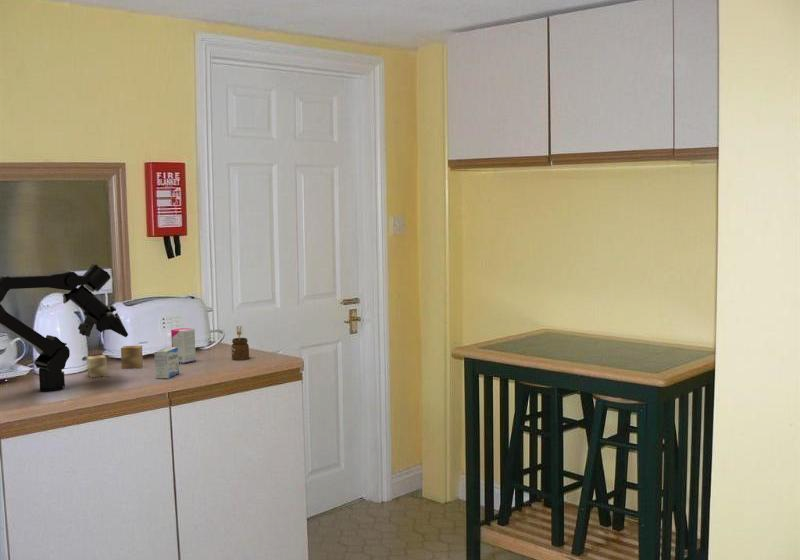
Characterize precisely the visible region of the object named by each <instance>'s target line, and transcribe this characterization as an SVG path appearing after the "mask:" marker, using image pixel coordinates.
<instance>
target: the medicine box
mask: <svg viewBox="0 0 800 560" xmlns="http://www.w3.org/2000/svg"><path fill="white" fill-rule="evenodd" d="M154 369H155V370H154V371H155V379H163V378H169V379H171V378H173V377H175V376H177V375H179V374H180V364H179V357H178V348H177V347H172V346H168V347H167V346H166V347H164V348H162V349H159V350H156V351H154ZM176 374H177V375H176ZM174 375H175V376H174ZM172 376H173V377H172ZM170 377H171V378H170Z"/></svg>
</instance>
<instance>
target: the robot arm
mask: <svg viewBox="0 0 800 560" xmlns="http://www.w3.org/2000/svg"><path fill="white" fill-rule="evenodd" d="M111 278H112V277H111V275H110V273H109V272H108V271H106V270H104V268H101V267H100V266H99V265H98V264H95V263H93V264H92V265H90V266H89V268H88V269H87V270H86V271H85V273H84V274H83V275H80V274H77V273H76V272H75V271H69V270H56V271H52V272H51V271H50V272H48V273H46V274H29V275H28V274H27V275H26V274H25V275H2V274H1V275H0V327H2V328H4V329H5V330H7V331H8V332H10V333H11V334H13V335H14V336H15V337H16V336H17V338H19V339H21V340H22V341H23V342H26V344H29V345H30V346H32V347H33V348H34V350H35V351H36V352H37V354H38V357H37V358H35V360H34V361H33V363H34V365H35V368H36V369H38V380H39V389H38V392H49V391H52V392H53V391H60V390H61V391H62V390H64V387H65V386H66V379H65V372H64V370H65V367H66V363H67V361H68V360H69V358H70V356H71V355H70V349H69V348H70V347H68V346H67V344H68V343H66V342H63V341H62V340H61V339H60V338H58V337H57V336H54V335H53V336H52V335H50V334H49V335H48V334H46V336H44V335H42V334H40V333H39V332H37V331H36V330H35V329H33V328H31V327H30V326H29V325H27V324H25V323H24V322H22V321H21V320H19V319H18V318H16V317H14V316H13V315H12V314H10V313H9V312H8V311H6V309H5V308H4V307H3V305H2V304H1V303H2V302H3V300H4V299H5V297H6V295H7V294H8V293H9V291H10V290H16V289H19V290H20V289H46V288H49V289H58V290H63V291H68V292H67V293H62V297H63V299H62V300H63V301H62V303H63V304H64V305H65V304H67V303H68V302H69V301H71V302H72V303H74V304H75V305H76V306H77V307H78V308H79V309H80V310H82V311H83V315H84V316H85V319H84V320H83V322H80V323H79V325H78V328H77V330H79V332H78V334H79V335H82V336H86V337H88V338H89V337H90V335H91V332H92V330H93V328H94V325H95V329H96V330H97V331H98V332H100V334H101V333H103V332H105V331H109V330H111V331H112V332H114V333H116V334H118V335H121V336H122V337H124V338H127V337H128V336H129V333H128V331H127V330H126V328H125V325H124V323H123V321H122V319H121V318H120V315H119V312H116V311H117V308H116V307H115V306H114V305H113V304H106V303H104V302H103V301H102V300H101V298H100V297H99V296H97V295H95V294H94V292H99V291H100V290H102V288H103V287H104V286H105V285H107V283H108V282H109V281H110V280H111ZM114 312H116V313H115V314H114Z"/></svg>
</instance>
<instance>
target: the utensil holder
mask: <svg viewBox="0 0 800 560" xmlns="http://www.w3.org/2000/svg"><path fill="white" fill-rule="evenodd" d="M244 331H245V330H244V328H243V326H241V325H240V326H236V335H237V337H236V338H232V340H231V341H232V345H231V358H232V360H234V361H245V360H248V359H249V358H250V349H249V348H250V347H249V343H248V341H249V340H248V338H247V337H242V336H245V335H244Z"/></svg>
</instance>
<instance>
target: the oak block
mask: <svg viewBox="0 0 800 560" xmlns="http://www.w3.org/2000/svg"><path fill="white" fill-rule="evenodd" d="M143 358H144V357H143V345H123V346H122V347H120V359H121V369H122V370H125V369H126V370H127V369H128V370H130V369H133V370H134V368H136V369H142V368H143V367H144V364H143V363H144V359H143Z"/></svg>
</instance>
